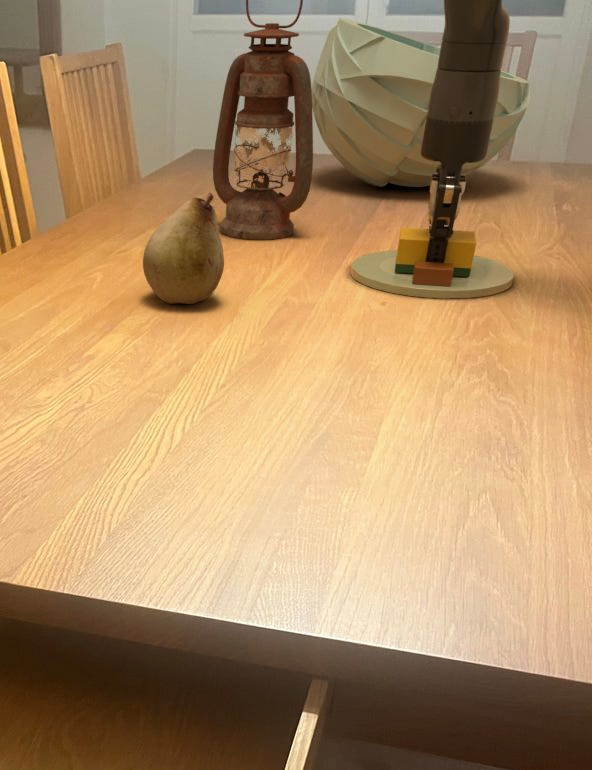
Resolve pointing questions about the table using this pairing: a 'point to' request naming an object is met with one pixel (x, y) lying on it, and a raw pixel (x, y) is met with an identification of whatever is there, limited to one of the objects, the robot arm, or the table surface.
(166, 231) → the fruit
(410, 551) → the table surface
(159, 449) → the table surface
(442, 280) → the brown rectangular block
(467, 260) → the sponge
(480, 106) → the robot arm
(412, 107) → the bowl
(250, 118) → the lantern
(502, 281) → the plate
